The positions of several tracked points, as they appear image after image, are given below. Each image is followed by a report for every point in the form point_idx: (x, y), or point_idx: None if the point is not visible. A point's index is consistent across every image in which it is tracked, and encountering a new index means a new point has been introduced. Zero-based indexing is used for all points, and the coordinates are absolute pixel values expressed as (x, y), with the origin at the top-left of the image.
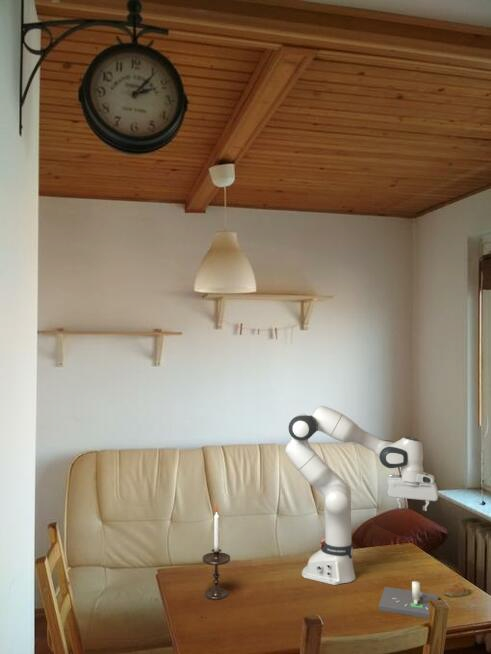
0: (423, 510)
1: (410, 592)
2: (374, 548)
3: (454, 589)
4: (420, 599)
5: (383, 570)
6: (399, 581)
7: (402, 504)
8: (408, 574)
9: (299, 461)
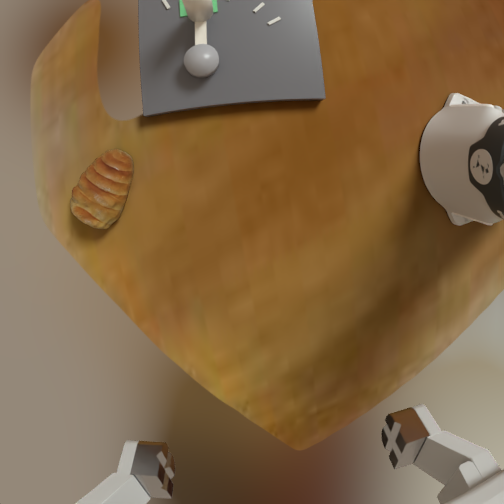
0: (156, 442)
1: (233, 87)
2: (380, 397)
3: (96, 167)
4: None
5: (352, 266)
6: (290, 197)
7: (407, 448)
8: (271, 271)
9: None
